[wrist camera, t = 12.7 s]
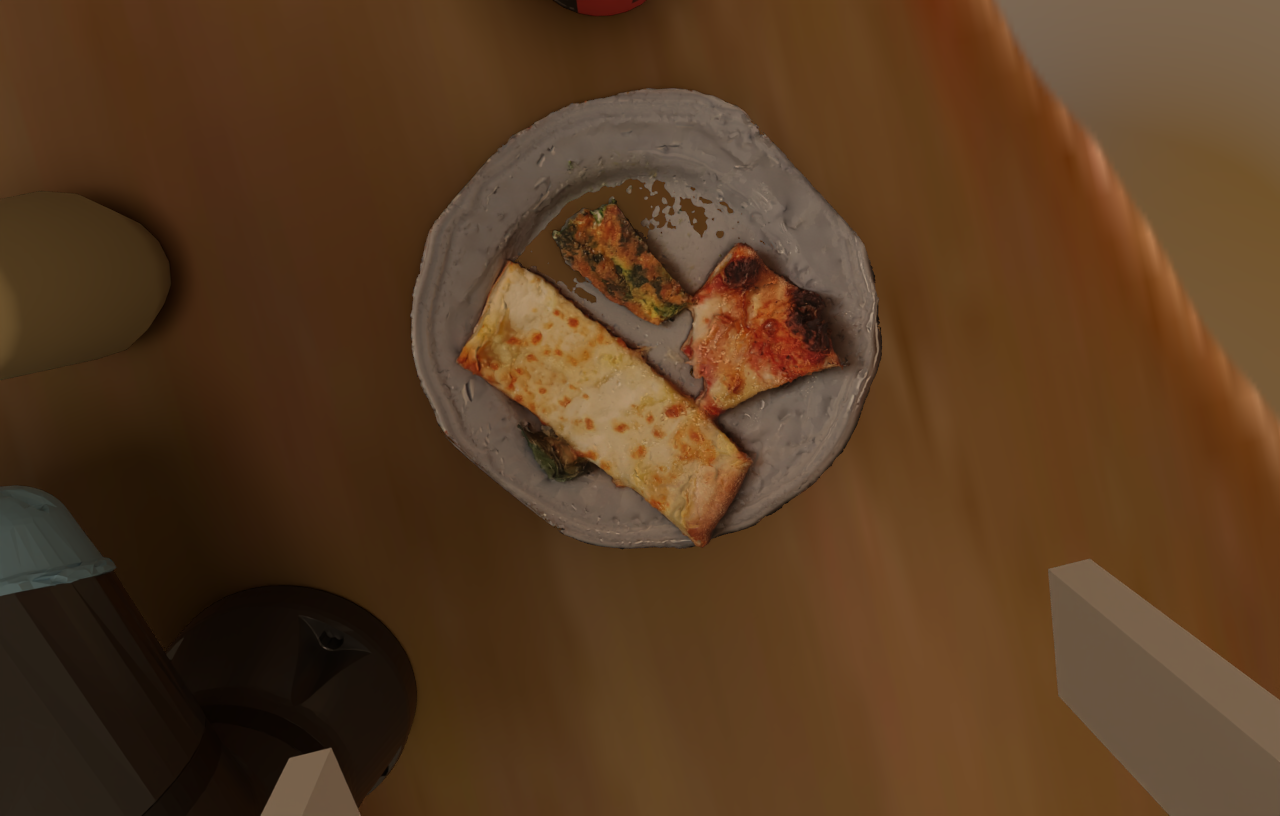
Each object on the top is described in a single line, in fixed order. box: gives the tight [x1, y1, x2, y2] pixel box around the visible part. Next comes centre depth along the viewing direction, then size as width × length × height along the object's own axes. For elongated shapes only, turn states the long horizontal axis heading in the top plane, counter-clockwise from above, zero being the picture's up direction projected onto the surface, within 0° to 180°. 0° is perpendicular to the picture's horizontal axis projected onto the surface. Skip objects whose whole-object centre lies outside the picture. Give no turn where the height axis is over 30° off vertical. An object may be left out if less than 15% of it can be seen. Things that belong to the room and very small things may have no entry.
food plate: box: [411, 88, 882, 549], centre depth 42 cm, size 25×23×4 cm
